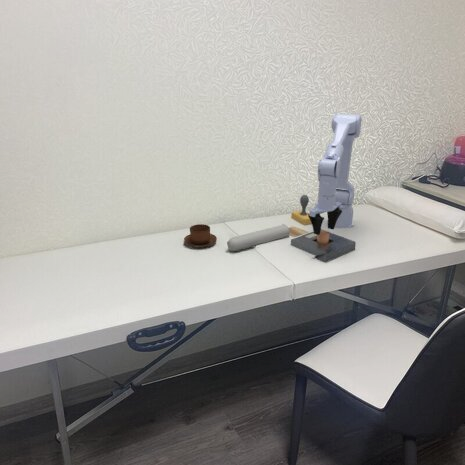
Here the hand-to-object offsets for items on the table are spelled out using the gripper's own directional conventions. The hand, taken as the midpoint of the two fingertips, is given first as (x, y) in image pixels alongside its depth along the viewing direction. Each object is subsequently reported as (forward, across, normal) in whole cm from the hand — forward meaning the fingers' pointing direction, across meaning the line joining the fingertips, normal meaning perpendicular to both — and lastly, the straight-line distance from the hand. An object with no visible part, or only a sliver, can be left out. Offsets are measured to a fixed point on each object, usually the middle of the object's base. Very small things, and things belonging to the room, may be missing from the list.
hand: (323, 231), depth 152 cm
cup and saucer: (+7, +31, -32) cm, 45 cm away
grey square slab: (+7, 0, 0) cm, 7 cm away
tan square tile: (+7, -2, -16) cm, 17 cm away
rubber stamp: (+7, -14, -22) cm, 27 cm away
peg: (+7, 0, 0) cm, 7 cm away
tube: (+4, +15, -20) cm, 25 cm away
